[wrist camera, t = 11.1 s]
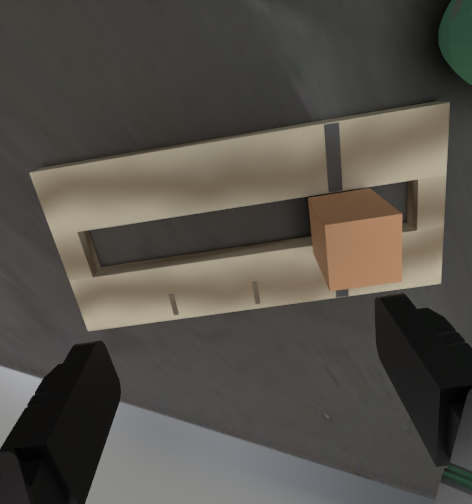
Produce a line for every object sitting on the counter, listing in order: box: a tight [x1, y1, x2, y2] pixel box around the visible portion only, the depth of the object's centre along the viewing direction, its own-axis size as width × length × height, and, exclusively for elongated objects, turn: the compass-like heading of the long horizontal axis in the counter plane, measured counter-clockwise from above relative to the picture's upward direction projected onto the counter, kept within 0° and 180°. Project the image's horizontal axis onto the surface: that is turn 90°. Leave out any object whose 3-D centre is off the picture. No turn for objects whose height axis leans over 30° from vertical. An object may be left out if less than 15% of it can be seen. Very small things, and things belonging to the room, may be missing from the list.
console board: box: [29, 101, 450, 331], centre depth 31 cm, size 14×30×2 cm, turn 99°
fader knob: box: [308, 188, 402, 291], centre depth 27 cm, size 4×4×9 cm
